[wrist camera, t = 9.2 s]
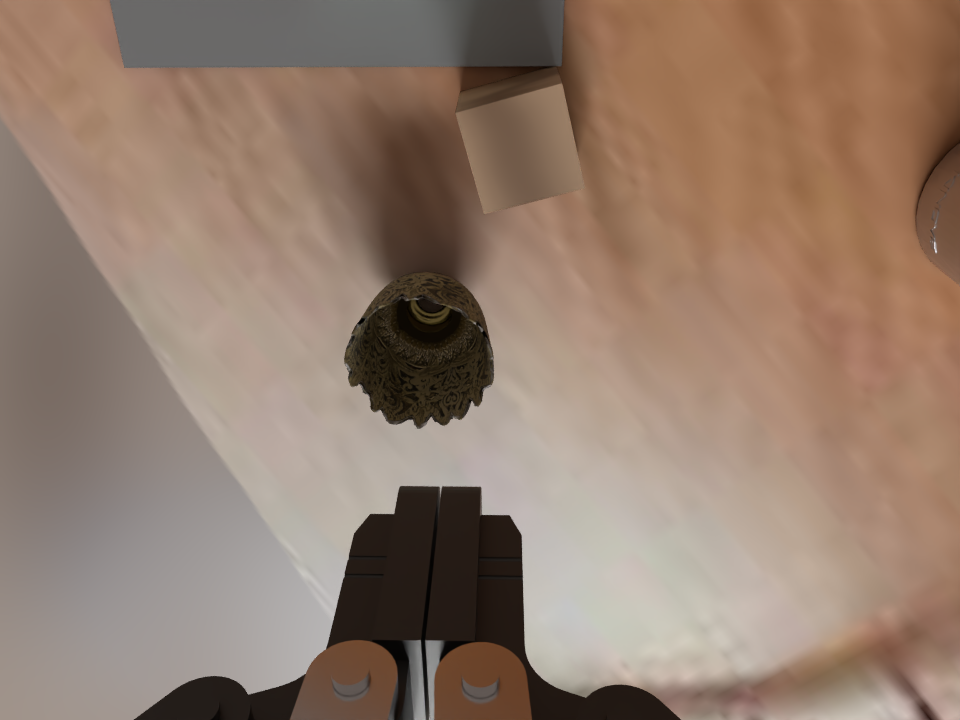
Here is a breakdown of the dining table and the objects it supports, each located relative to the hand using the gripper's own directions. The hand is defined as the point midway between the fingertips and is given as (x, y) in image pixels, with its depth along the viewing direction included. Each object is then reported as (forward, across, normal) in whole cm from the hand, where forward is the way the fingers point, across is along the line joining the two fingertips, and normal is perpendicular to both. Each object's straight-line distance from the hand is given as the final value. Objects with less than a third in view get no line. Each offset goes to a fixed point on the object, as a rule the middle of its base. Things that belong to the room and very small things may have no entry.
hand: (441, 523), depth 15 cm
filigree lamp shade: (+31, +3, +10) cm, 33 cm away
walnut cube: (+31, -2, 0) cm, 31 cm away
